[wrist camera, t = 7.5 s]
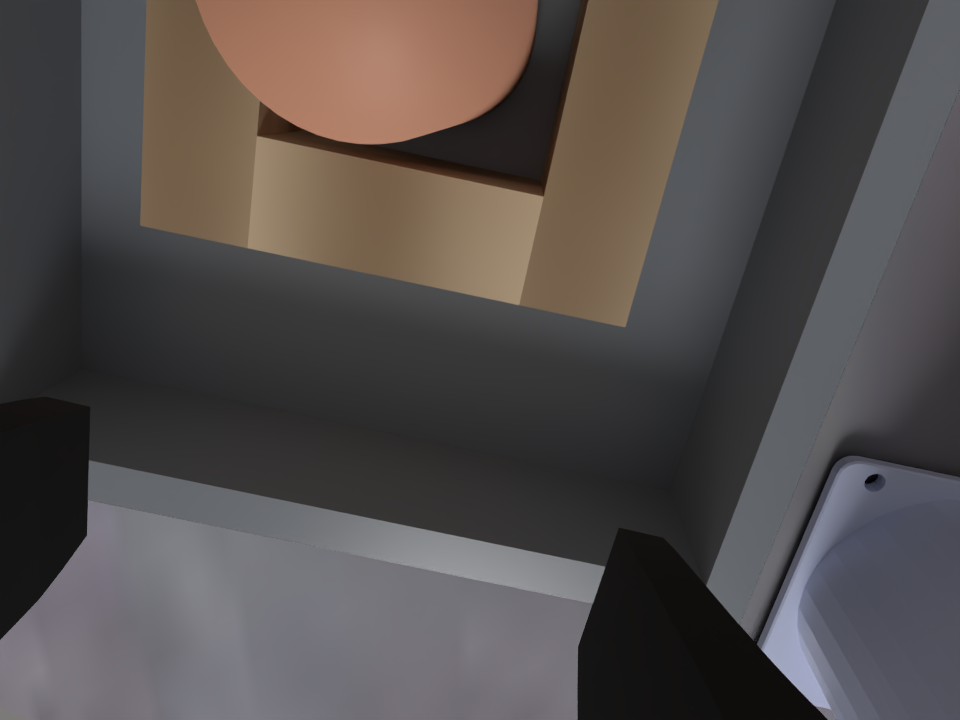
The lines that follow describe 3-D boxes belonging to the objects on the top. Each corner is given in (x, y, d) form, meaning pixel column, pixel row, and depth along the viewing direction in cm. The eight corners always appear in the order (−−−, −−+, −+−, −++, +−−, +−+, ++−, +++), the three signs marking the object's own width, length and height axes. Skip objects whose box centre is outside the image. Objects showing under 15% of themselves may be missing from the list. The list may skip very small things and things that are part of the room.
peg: (555, -57, 15) (580, -222, 7) (514, 141, 16) (499, 174, 9) (366, -97, 15) (194, -305, 7) (342, 104, 16) (176, 107, 9)
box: (973, -272, 13) (1177, -442, 9) (690, 519, 20) (736, 633, 15) (44, -475, 13) (-181, -747, 9) (56, 388, 20) (-73, 466, 15)
